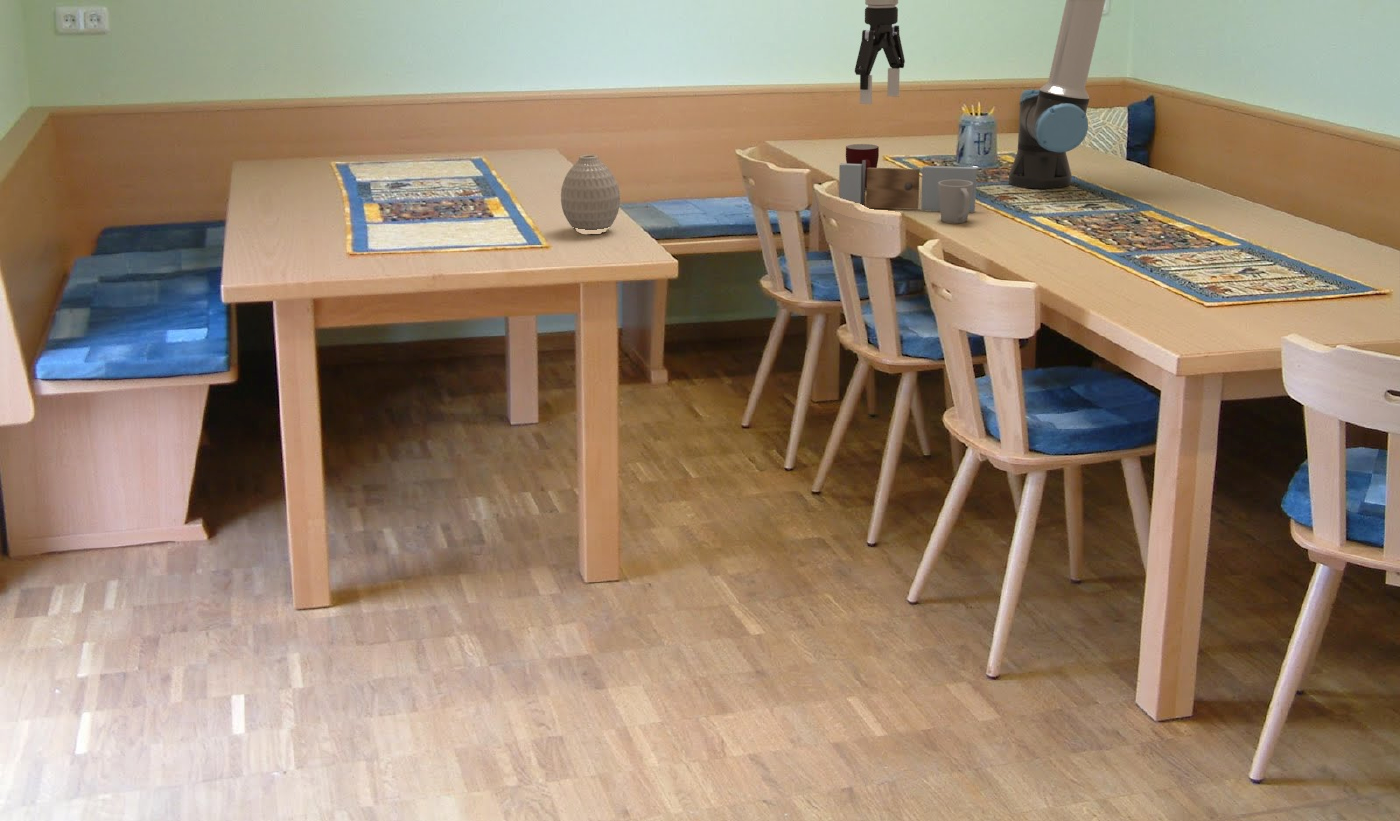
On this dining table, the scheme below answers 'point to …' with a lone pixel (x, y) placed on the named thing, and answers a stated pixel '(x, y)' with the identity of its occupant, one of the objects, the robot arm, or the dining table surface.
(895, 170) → the door
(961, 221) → the cup
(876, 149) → the mug
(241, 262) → the dining table surface
